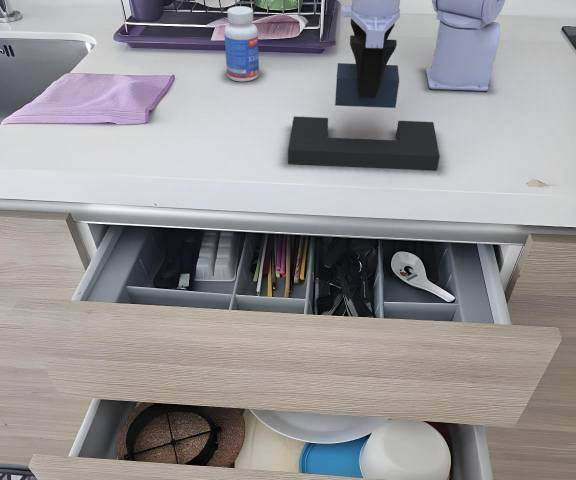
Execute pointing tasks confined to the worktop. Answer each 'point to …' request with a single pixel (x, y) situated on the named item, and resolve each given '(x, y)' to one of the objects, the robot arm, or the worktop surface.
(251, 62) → the pill bottle
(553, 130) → the worktop surface
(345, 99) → the dark blue block
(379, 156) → the black u-shaped block
